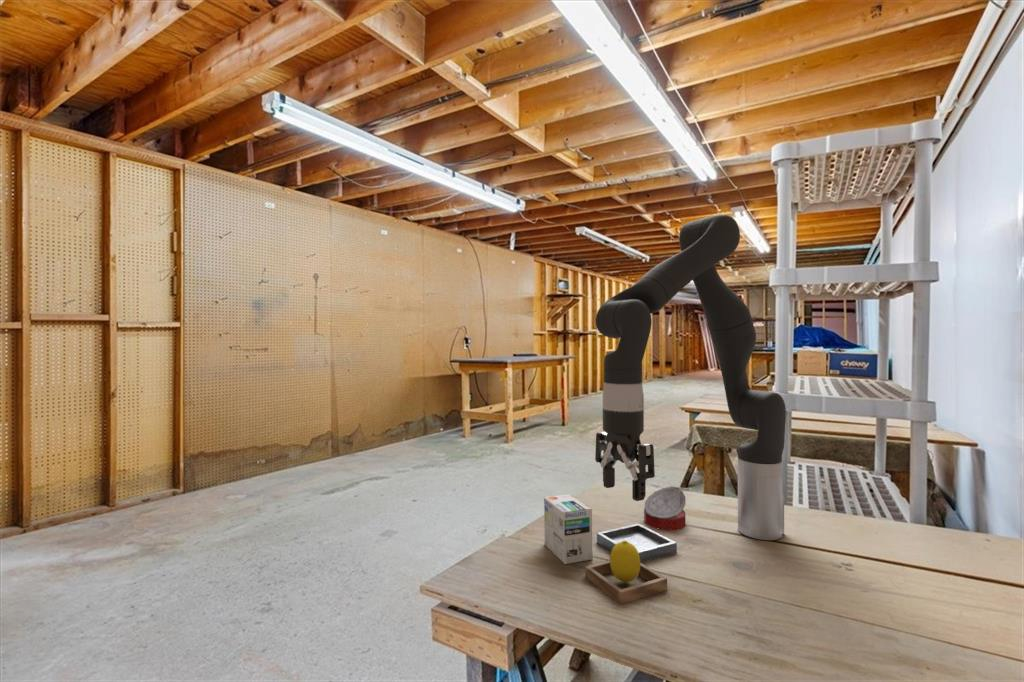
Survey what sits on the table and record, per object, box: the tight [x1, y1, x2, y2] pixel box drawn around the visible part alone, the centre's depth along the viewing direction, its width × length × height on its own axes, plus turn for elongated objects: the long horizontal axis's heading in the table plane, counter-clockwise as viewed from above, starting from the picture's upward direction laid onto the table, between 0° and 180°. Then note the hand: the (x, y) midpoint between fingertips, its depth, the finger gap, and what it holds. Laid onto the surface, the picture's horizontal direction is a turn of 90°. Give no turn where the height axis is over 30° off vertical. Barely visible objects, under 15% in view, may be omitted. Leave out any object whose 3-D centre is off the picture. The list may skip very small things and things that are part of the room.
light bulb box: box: [543, 493, 594, 565], centre depth 104 cm, size 11×7×11 cm, turn 20°
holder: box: [584, 559, 668, 605], centre depth 90 cm, size 11×11×2 cm
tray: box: [596, 523, 678, 564], centre depth 106 cm, size 12×12×2 cm
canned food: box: [643, 485, 687, 531], centre depth 120 cm, size 11×10×10 cm
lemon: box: [609, 540, 640, 585], centre depth 90 cm, size 6×6×8 cm
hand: (623, 493), depth 91 cm, fingers open, 8 cm apart
